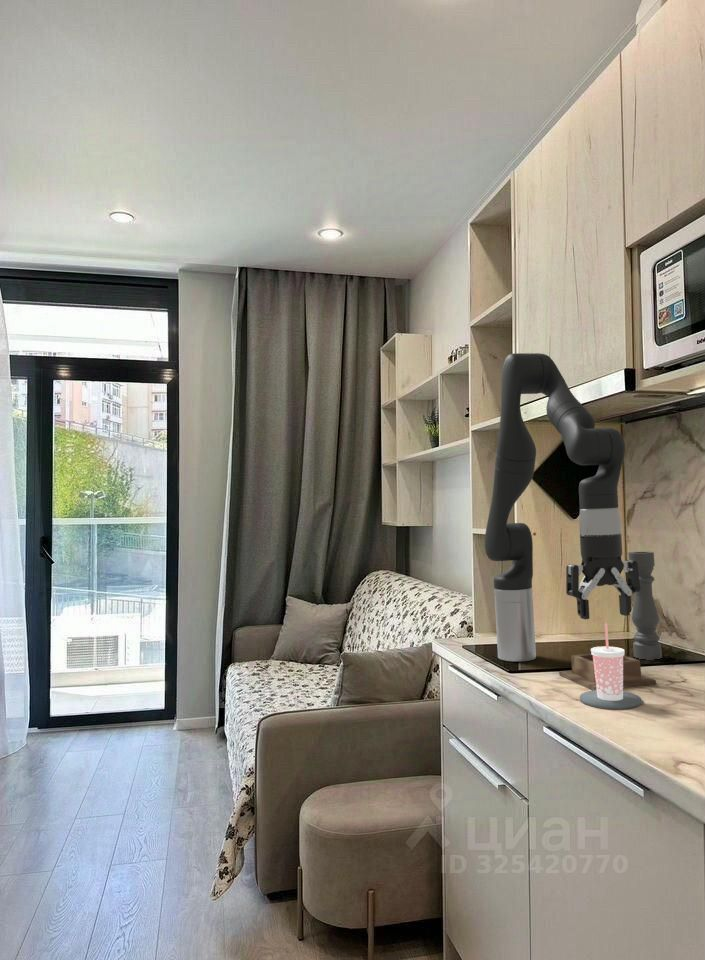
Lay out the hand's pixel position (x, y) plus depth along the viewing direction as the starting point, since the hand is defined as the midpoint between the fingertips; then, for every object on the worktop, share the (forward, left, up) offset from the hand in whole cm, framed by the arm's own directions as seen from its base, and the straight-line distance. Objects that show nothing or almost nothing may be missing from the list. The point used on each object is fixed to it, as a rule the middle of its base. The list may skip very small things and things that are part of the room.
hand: (604, 616), depth 130 cm
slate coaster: (0, 0, -16) cm, 16 cm away
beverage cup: (0, 0, -15) cm, 15 cm away
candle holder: (-28, +28, -16) cm, 43 cm away
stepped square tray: (-14, +8, -16) cm, 23 cm away
